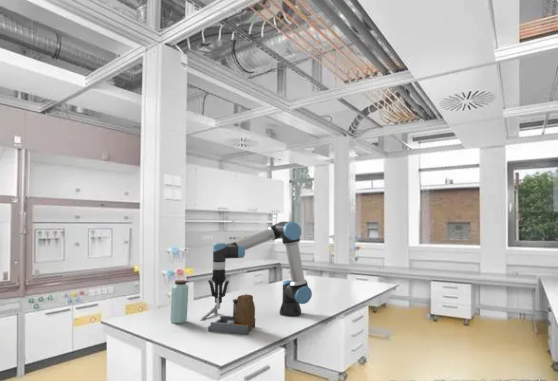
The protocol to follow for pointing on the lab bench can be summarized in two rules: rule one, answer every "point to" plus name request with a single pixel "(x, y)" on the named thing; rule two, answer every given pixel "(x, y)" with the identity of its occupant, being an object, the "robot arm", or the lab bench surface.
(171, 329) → the lab bench surface
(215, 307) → the caliper
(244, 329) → the bay
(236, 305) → the bar
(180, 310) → the water bottle
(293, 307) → the robot arm
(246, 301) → the brown stone
